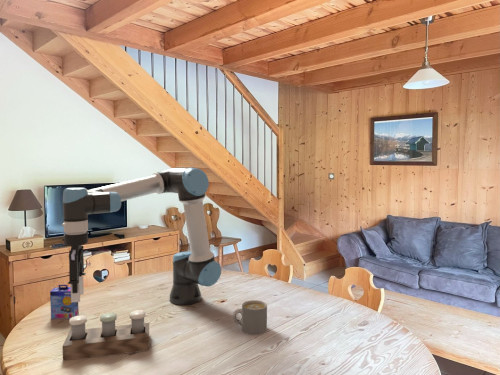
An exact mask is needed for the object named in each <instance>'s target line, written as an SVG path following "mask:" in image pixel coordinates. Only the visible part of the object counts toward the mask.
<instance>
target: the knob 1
mask: <svg viewBox="0 0 500 375" xmlns="http://www.w3.org/2000/svg"><path fill="white" fill-rule="evenodd" d="M68 321H69V325H70V326H71V330H72V340H83V339H85V329H86V323H87V322H88V316H86V315H83V314H82V315H77V316H75V317H72V318H70V319H69V320H68Z"/></svg>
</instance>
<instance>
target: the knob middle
mask: <svg viewBox="0 0 500 375" xmlns="http://www.w3.org/2000/svg"><path fill="white" fill-rule="evenodd" d="M117 319H118V315H117V313H116V312H107V313H104V314H101V315H100V316H99V320H100V322H101V327H102V337H111V336H114V335H115V326H116V320H117Z"/></svg>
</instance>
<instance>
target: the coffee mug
mask: <svg viewBox="0 0 500 375" xmlns="http://www.w3.org/2000/svg"><path fill="white" fill-rule="evenodd" d="M238 314H241V318H240V319H237V315H238ZM232 319H233V322H234V323H235V324H237V325H239V326H241V330H242V332H243V333H244V334H247V335H250V336H251V335H252V336H257V335H262V334H265V333H266V332H267V330H268V304H267V303H266V302H265V301H262V300H255V299H254V300H253V299H251V300H247V301H246V300H245V301H244V302H243V303H242V304H241V308H237V309H235V310H234V311H233V315H232Z"/></svg>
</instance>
